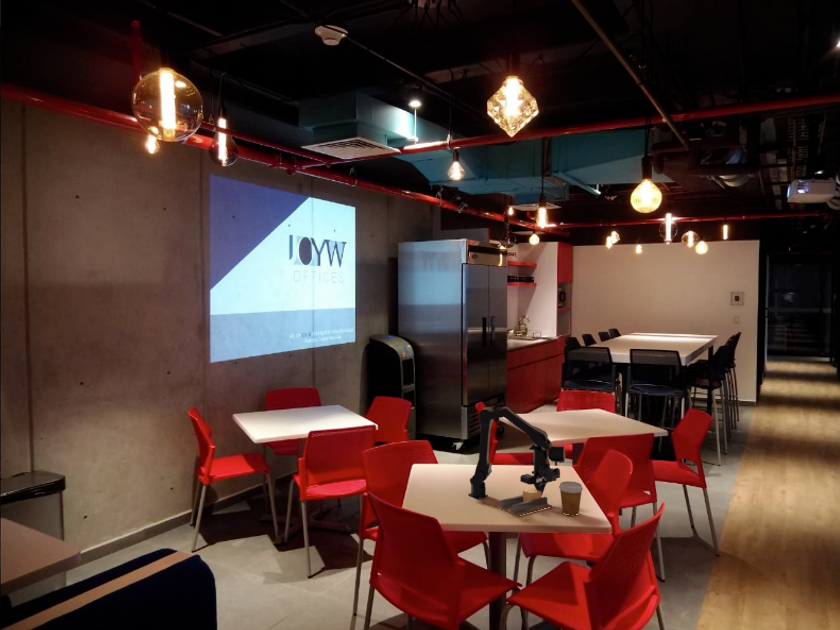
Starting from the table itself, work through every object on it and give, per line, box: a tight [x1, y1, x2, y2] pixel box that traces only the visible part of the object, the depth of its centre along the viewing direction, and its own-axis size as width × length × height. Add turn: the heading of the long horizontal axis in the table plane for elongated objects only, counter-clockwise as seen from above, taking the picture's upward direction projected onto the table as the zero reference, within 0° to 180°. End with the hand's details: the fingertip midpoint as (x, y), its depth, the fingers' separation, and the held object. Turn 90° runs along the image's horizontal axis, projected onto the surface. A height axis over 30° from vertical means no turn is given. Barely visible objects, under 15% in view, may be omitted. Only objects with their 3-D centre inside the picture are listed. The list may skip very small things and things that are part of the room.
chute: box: [495, 494, 553, 517], centre depth 248 cm, size 14×19×4 cm
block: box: [522, 487, 543, 502], centre depth 251 cm, size 5×6×5 cm
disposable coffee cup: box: [558, 480, 584, 515], centre depth 241 cm, size 10×10×12 cm
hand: (540, 496), depth 254 cm, fingers closed
